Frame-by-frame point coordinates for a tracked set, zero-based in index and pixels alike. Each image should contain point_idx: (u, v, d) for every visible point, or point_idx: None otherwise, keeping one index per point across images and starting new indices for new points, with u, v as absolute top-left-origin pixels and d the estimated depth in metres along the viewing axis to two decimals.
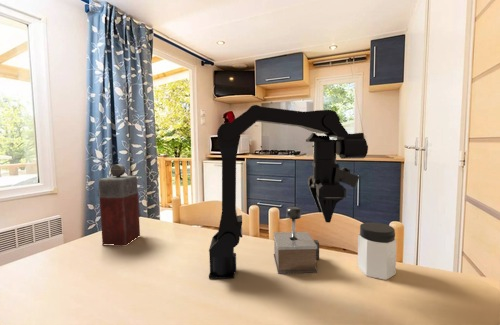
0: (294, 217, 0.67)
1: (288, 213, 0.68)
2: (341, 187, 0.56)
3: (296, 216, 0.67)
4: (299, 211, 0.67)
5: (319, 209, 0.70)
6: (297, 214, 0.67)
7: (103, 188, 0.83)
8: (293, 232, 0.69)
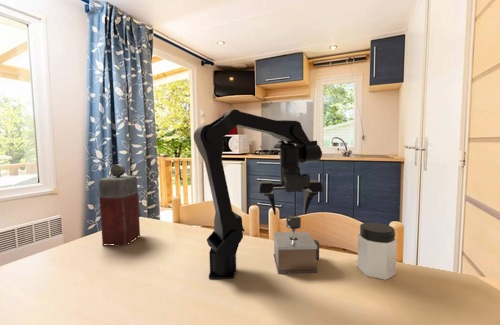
0: (294, 227, 0.67)
1: (288, 223, 0.68)
2: (260, 184, 0.72)
3: (296, 226, 0.67)
4: (299, 221, 0.67)
5: None
6: (297, 224, 0.67)
7: (103, 188, 0.83)
8: None
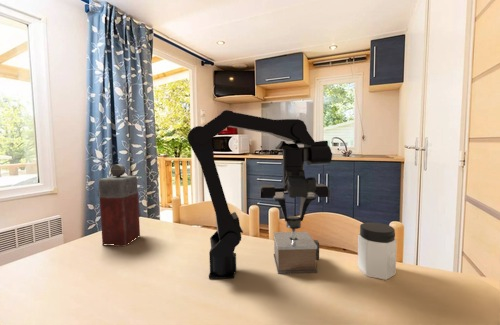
0: (294, 227, 0.67)
1: (288, 223, 0.68)
2: (261, 188, 0.66)
3: (296, 226, 0.67)
4: (299, 221, 0.67)
5: (300, 217, 0.69)
6: (297, 224, 0.67)
7: (103, 188, 0.83)
8: None
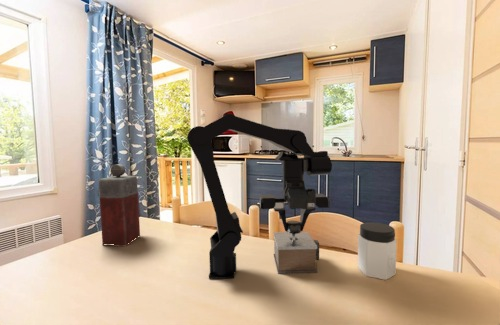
0: (294, 232, 0.67)
1: (288, 227, 0.68)
2: (261, 199, 0.66)
3: (296, 231, 0.67)
4: (299, 225, 0.68)
5: None
6: (297, 228, 0.67)
7: (103, 188, 0.83)
8: None
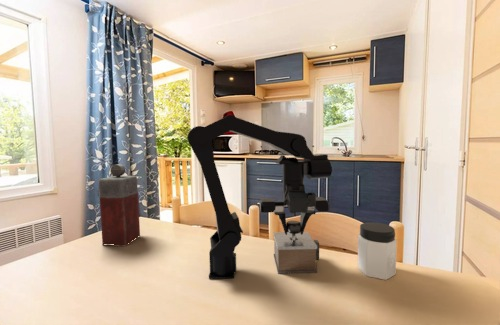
0: (294, 232, 0.67)
1: (288, 227, 0.68)
2: (261, 203, 0.66)
3: (296, 231, 0.67)
4: (299, 226, 0.68)
5: None
6: (297, 228, 0.67)
7: (103, 188, 0.83)
8: None
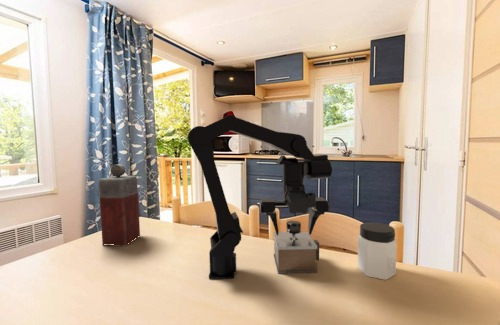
0: (294, 232, 0.67)
1: (288, 227, 0.68)
2: (261, 203, 0.66)
3: (296, 231, 0.67)
4: (299, 226, 0.68)
5: (308, 230, 0.69)
6: (297, 228, 0.67)
7: (103, 188, 0.83)
8: None
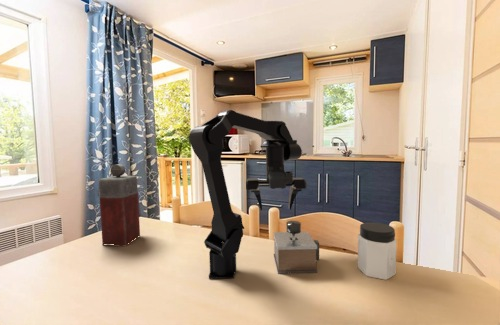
0: (294, 232, 0.67)
1: (288, 227, 0.68)
2: (246, 181, 0.76)
3: (296, 231, 0.67)
4: (299, 226, 0.68)
5: (289, 206, 0.79)
6: (297, 228, 0.67)
7: (103, 188, 0.83)
8: None
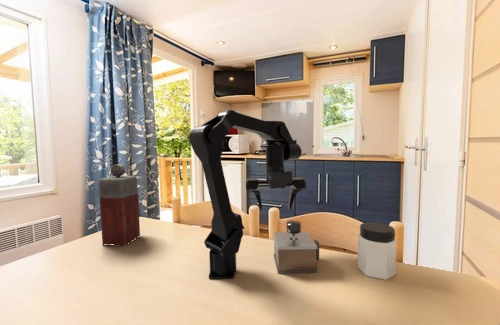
0: (294, 232, 0.67)
1: (288, 227, 0.68)
2: (246, 181, 0.76)
3: (296, 231, 0.67)
4: (299, 226, 0.68)
5: None
6: (297, 228, 0.67)
7: (103, 188, 0.83)
8: None
